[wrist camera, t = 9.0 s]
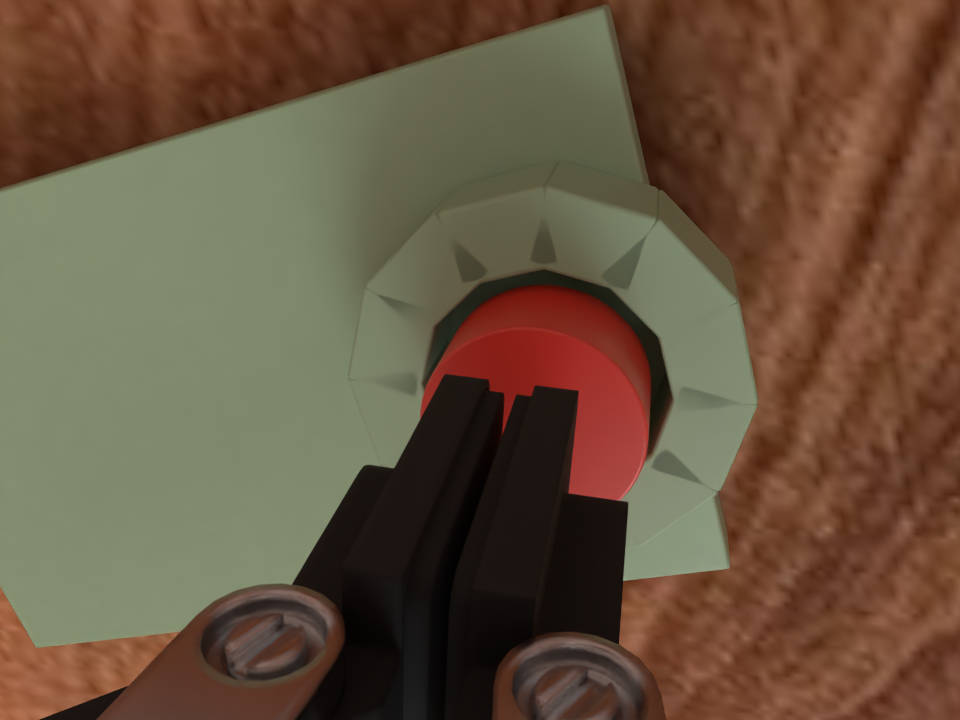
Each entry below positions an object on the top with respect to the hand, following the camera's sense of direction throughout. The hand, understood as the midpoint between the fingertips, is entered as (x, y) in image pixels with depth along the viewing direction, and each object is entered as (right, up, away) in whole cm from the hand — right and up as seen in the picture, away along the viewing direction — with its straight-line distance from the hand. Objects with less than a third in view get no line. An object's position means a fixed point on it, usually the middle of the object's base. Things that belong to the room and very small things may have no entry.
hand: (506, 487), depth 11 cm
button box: (-4, +1, +7) cm, 8 cm away
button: (+1, +1, +3) cm, 3 cm away
